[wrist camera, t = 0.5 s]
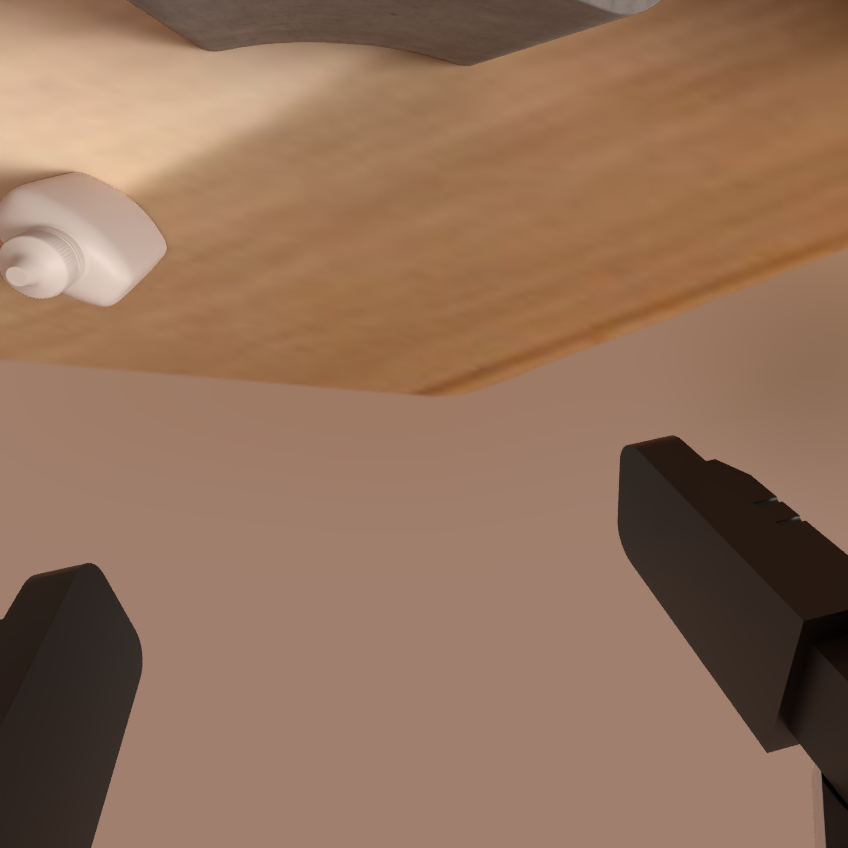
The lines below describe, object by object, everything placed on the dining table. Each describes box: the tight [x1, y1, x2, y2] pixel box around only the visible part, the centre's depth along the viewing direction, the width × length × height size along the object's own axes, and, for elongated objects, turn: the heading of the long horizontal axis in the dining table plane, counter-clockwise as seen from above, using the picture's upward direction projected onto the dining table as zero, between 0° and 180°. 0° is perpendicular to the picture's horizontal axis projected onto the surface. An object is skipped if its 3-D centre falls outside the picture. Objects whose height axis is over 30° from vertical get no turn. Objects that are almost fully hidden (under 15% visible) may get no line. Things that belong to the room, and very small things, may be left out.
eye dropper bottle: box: [0, 172, 167, 306], centre depth 26 cm, size 4×6×12 cm
